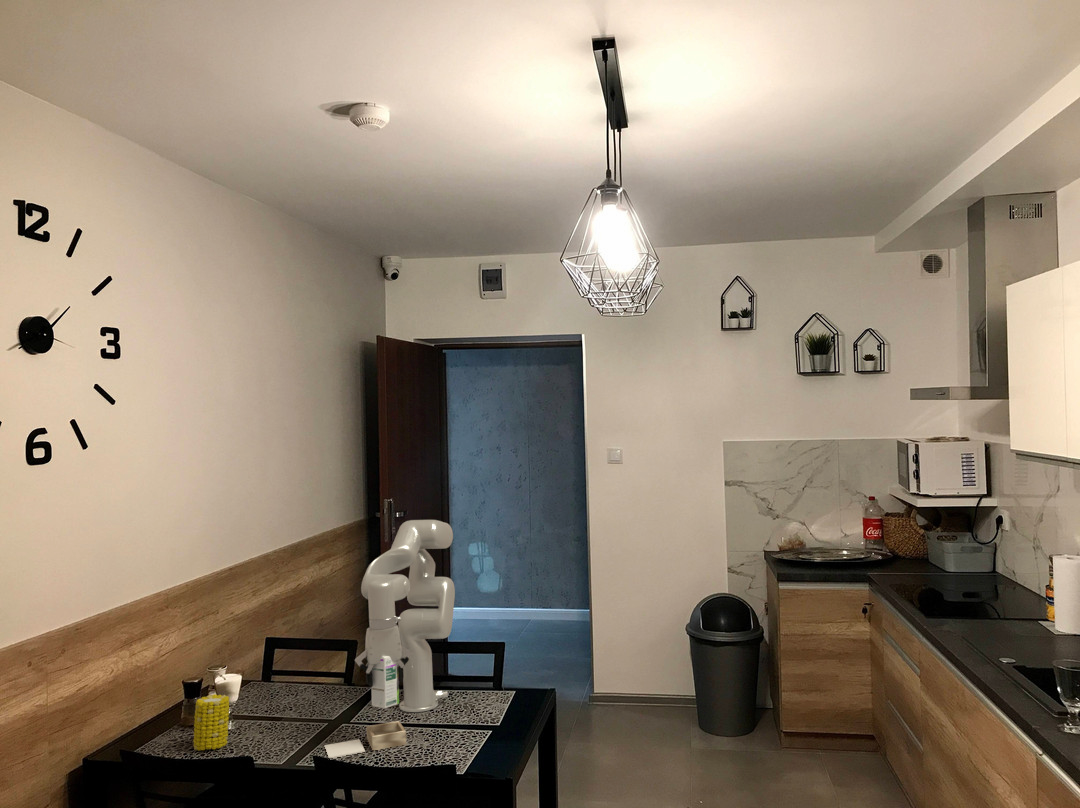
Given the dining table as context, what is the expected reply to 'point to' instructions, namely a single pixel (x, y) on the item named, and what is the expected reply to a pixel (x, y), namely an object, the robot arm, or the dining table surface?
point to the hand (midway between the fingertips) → (385, 682)
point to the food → (211, 722)
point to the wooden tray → (386, 735)
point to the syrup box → (385, 683)
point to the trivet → (344, 748)
